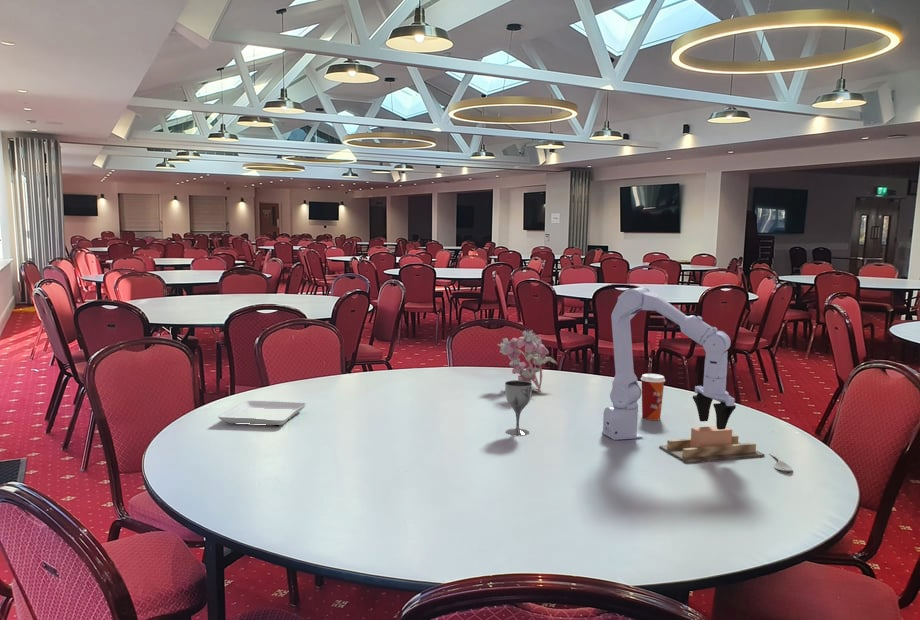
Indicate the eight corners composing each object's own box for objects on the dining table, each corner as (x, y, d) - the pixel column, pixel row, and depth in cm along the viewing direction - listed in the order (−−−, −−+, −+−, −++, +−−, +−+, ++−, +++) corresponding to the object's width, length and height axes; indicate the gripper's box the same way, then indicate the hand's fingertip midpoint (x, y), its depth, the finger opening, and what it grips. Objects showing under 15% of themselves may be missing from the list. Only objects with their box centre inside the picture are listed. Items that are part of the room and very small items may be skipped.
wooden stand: (686, 463, 170) (687, 453, 169) (659, 447, 182) (659, 437, 182) (764, 456, 176) (765, 446, 175) (732, 441, 188) (733, 432, 188)
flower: (575, 383, 252) (553, 324, 257) (551, 389, 233) (528, 324, 238) (531, 399, 262) (511, 341, 267) (505, 406, 243) (484, 343, 248)
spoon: (777, 475, 163) (777, 468, 163) (761, 449, 183) (761, 443, 183) (795, 476, 162) (796, 470, 162) (777, 450, 182) (777, 444, 182)
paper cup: (658, 422, 207) (660, 379, 205) (635, 418, 211) (637, 376, 210) (667, 417, 213) (669, 375, 211) (644, 413, 217) (646, 372, 216)
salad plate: (307, 411, 217) (307, 401, 216) (284, 430, 196) (284, 419, 195) (246, 409, 219) (246, 399, 218) (217, 427, 198) (216, 416, 197)
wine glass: (499, 433, 193) (500, 384, 192) (510, 426, 200) (511, 379, 199) (524, 437, 190) (525, 387, 188) (534, 430, 197) (535, 382, 195)
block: (721, 446, 182) (723, 425, 181) (731, 450, 178) (732, 429, 177) (690, 448, 179) (691, 427, 179) (699, 453, 176) (700, 432, 175)
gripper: (745, 381, 170) (742, 431, 172) (711, 370, 184) (708, 416, 186) (722, 382, 169) (719, 433, 170) (689, 371, 183) (686, 418, 184)
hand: (712, 425), depth 178 cm, fingers open, 7 cm apart
